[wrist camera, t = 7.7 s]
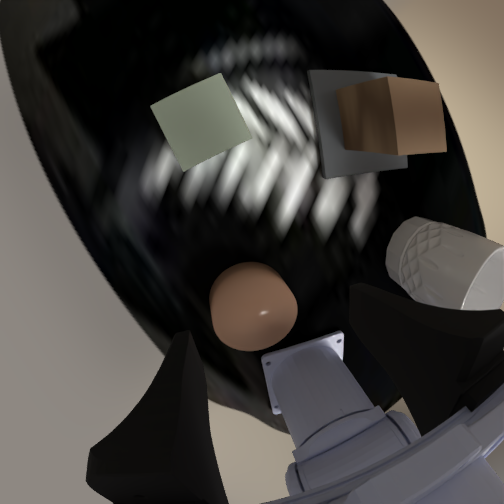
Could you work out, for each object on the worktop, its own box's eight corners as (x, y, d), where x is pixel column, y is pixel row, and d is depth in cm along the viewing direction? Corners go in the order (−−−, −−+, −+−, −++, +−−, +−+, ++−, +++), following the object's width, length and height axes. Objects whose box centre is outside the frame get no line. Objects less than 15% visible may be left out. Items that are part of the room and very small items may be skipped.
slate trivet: (403, 166, 21) (407, 167, 20) (322, 178, 20) (326, 179, 19) (392, 75, 18) (396, 74, 17) (306, 71, 17) (309, 69, 16)
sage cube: (239, 139, 18) (252, 138, 14) (184, 166, 18) (183, 171, 14) (213, 87, 16) (220, 72, 13) (158, 114, 16) (150, 106, 12)
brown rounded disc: (288, 316, 24) (300, 337, 21) (219, 335, 23) (224, 359, 20) (279, 252, 21) (292, 268, 19) (200, 272, 21) (202, 292, 18)
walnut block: (391, 145, 20) (446, 151, 14) (345, 149, 19) (398, 155, 13) (383, 90, 18) (438, 83, 12) (335, 90, 17) (387, 76, 12)
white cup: (420, 192, 22) (508, 223, 13) (444, 247, 25) (514, 286, 16) (365, 253, 23) (447, 312, 14) (398, 301, 26) (463, 357, 17)
